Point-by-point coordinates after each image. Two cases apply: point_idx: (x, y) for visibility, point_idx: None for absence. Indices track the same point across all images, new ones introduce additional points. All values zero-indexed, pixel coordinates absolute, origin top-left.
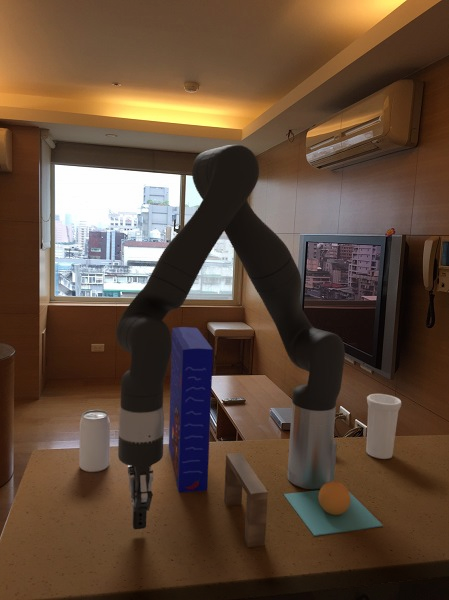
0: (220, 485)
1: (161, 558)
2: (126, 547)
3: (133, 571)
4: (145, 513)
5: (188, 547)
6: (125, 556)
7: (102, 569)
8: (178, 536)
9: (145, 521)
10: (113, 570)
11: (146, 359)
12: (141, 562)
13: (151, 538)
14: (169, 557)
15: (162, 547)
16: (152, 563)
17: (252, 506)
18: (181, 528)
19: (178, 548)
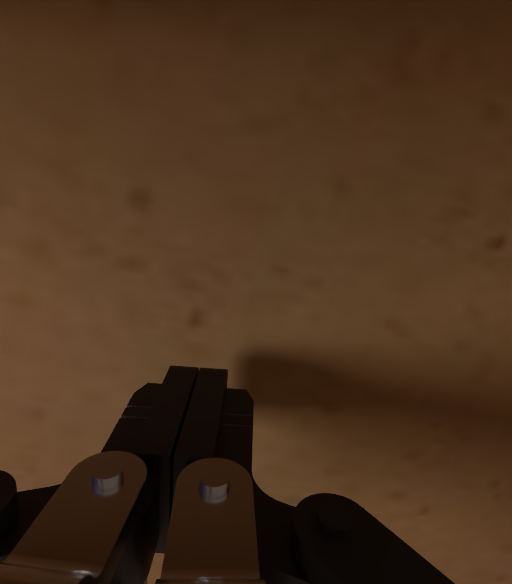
0: None
1: (459, 298)
2: (299, 446)
3: (493, 443)
4: (216, 432)
5: (428, 109)
6: (368, 460)
7: (419, 553)
8: (292, 145)
9: (223, 392)
10: (446, 517)
11: None
12: (445, 400)
13: (261, 314)
14: (470, 253)
15: (366, 271)
16: (477, 351)
17: None
18: (209, 98)
19: (412, 179)
